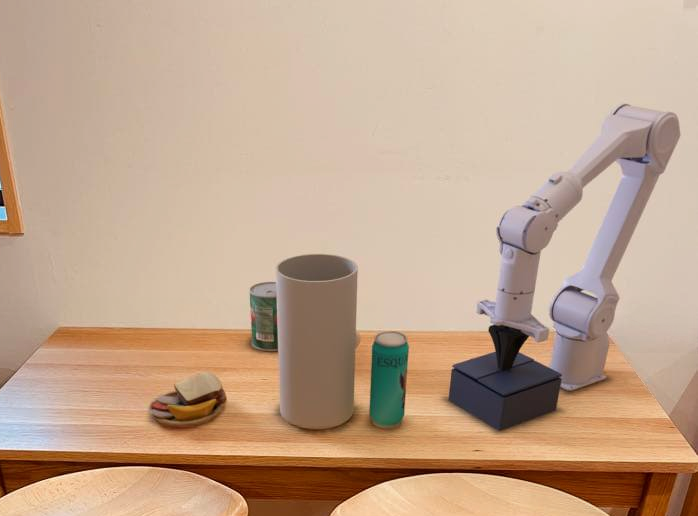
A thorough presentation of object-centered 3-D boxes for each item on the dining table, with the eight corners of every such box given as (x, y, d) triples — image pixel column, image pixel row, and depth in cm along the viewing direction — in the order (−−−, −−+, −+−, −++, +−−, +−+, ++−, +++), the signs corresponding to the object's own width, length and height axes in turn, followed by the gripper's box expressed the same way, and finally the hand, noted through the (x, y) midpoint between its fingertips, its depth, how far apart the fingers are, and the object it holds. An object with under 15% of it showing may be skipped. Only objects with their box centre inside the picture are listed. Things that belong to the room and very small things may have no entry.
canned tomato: (250, 336, 170) (247, 282, 163) (289, 333, 171) (288, 280, 164) (253, 352, 164) (250, 297, 157) (293, 350, 164) (292, 295, 158)
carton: (448, 400, 147) (451, 364, 143) (503, 381, 152) (508, 347, 148) (498, 431, 138) (504, 394, 134) (555, 410, 143) (562, 374, 139)
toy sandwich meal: (142, 401, 148) (139, 377, 145) (217, 389, 152) (215, 364, 149) (157, 435, 139) (153, 409, 136) (236, 421, 142) (234, 395, 139)
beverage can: (401, 432, 138) (407, 346, 129) (366, 429, 139) (370, 343, 130) (405, 415, 143) (411, 331, 134) (371, 412, 144) (374, 329, 135)
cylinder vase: (269, 424, 141) (263, 276, 126) (294, 391, 150) (292, 250, 135) (340, 436, 137) (343, 285, 122) (362, 402, 147) (367, 258, 132)
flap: (452, 366, 143) (452, 364, 143) (508, 349, 148) (508, 347, 148) (477, 380, 139) (477, 377, 138) (534, 361, 144) (534, 359, 143)
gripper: (466, 279, 136) (457, 357, 145) (530, 307, 126) (517, 390, 135) (499, 270, 139) (489, 347, 147) (564, 298, 129) (549, 379, 137)
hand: (504, 367), depth 141 cm, fingers closed
